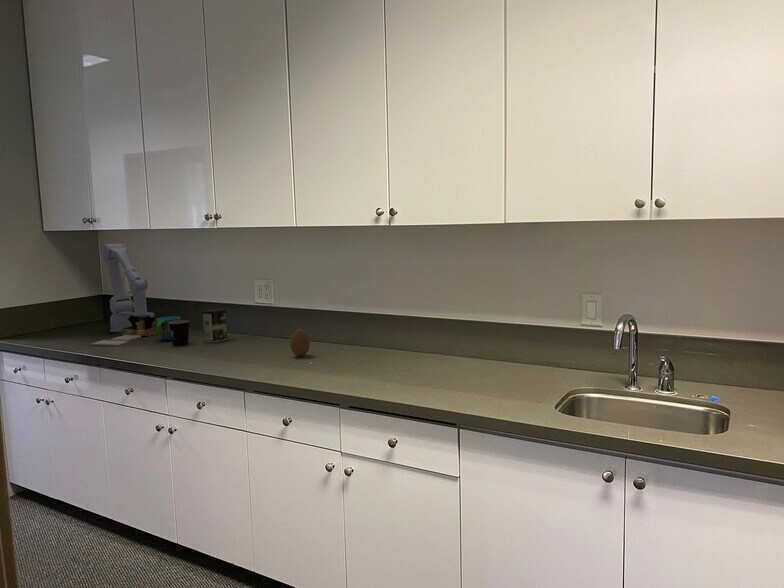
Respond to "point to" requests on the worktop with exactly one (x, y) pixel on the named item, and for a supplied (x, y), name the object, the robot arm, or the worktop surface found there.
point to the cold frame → (140, 331)
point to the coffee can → (214, 325)
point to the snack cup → (165, 326)
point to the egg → (300, 342)
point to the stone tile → (126, 337)
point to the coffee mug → (179, 332)
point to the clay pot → (140, 325)
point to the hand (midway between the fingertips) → (142, 331)
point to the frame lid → (109, 343)
